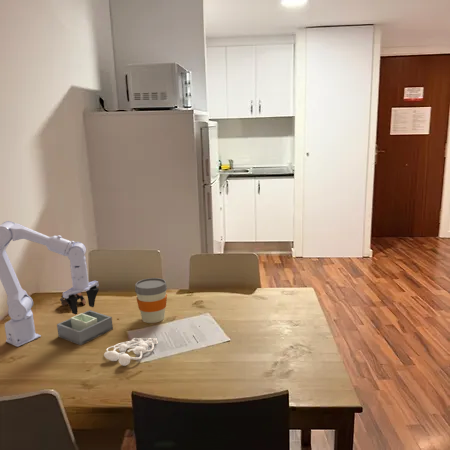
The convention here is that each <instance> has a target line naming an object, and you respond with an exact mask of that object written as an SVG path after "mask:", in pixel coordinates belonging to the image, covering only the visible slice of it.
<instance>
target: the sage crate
mask: <svg viewBox="0 0 450 450" xmlns="http://www.w3.org/2000/svg"><path fill="white" fill-rule="evenodd" d="M83 313H84V312H81V313H79V314H75V315H74V316H72V317H70V318H71V325H72V329H75V330H78V331H81V330H83V329H85V328H87V327H89V326H91V325H94V324H96V323H97V318H95V317H92V316H89V315H86V314H83Z"/></svg>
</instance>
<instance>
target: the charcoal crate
mask: <svg viewBox="0 0 450 450" xmlns="http://www.w3.org/2000/svg"><path fill="white" fill-rule="evenodd" d="M82 313H83V314H86V315H89V316H92V317H95V318H97V323H96V324H94V325H91V326H89V327H87V328H85V329H83V330H81V331H78V330H75V329H72V325H71V318H72V317H69V318H68V319H65V320H64V321H62V322H59V323H56V326H57V335H58V338H61V339H64V340H65V341H69V342H71V343H73V344H76V345H79V346H82V345H84V344H87V343H88V342H90V341H93V340H94V339H97V338H98V337H100V336H102V335H104V334H107V333H108V332H111V331H112V330H113V329H114V328H113V327H114V326H113V317H112V316H109V315H107V314H103V313H100V312H96V311H93V310H90V309H89V310H87V311H85V312H82Z"/></svg>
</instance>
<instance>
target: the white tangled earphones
mask: <svg viewBox="0 0 450 450" xmlns="http://www.w3.org/2000/svg"><path fill="white" fill-rule="evenodd" d="M158 343H159V342H158V338H157V337H154V338H151V337H148V338H147V337H145V338H141V337H139V338H138V337H133V338H132V339H131V340H127V341H123V342H119V343H116V344H115V345H111V346H109V347H107V348H106V350H105V352H104V353H103V357H104V358H105V359H107V360H108V361H111V362H117V361H118V362H119V364H120V365H121V366H124V367H125V366H127V365H129V364H130V363H131V360H136V361H140V359H142V358H143V354H146V353H151V352H153V351H154V348H155V345H158ZM149 346H151V349H149ZM111 348H112V349H113V350H110V349H111ZM117 350H118V351H119V352H118V351H117ZM131 351H132V352H133V353H134V354H135V355H137V356H139V357H137V356H136V357H133V356H130V355H129V354H128V353H130V352H131ZM126 352H127V353H126Z"/></svg>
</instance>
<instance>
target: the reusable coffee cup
mask: <svg viewBox="0 0 450 450" xmlns="http://www.w3.org/2000/svg"><path fill="white" fill-rule="evenodd" d="M134 286H135V287H134V291H135V294H136V304H137V307H138V310H139V311H140V316H141V319H142V320H141V321H142V322H144V323H148V324H155V323H159V322H161V321H163V320H165V316H166V314H165V313H166V307H167V300H168V299H167V297H168V295H167V290H168V287H167V281H166V280H165V279H164V278H160V277H151V278H150V277H149V278H143V279H141V280H138V281H137V282H136V283H135V285H134Z"/></svg>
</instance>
